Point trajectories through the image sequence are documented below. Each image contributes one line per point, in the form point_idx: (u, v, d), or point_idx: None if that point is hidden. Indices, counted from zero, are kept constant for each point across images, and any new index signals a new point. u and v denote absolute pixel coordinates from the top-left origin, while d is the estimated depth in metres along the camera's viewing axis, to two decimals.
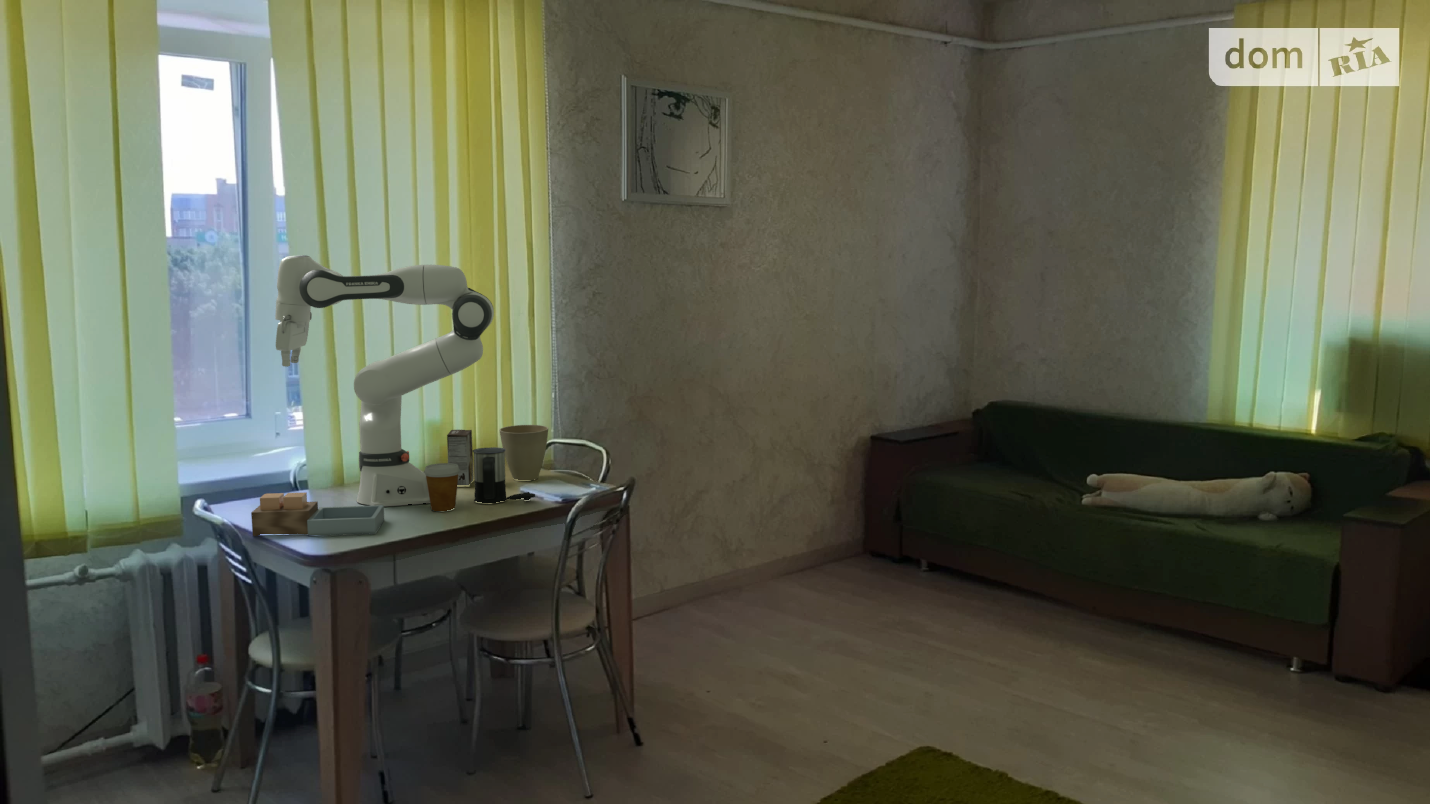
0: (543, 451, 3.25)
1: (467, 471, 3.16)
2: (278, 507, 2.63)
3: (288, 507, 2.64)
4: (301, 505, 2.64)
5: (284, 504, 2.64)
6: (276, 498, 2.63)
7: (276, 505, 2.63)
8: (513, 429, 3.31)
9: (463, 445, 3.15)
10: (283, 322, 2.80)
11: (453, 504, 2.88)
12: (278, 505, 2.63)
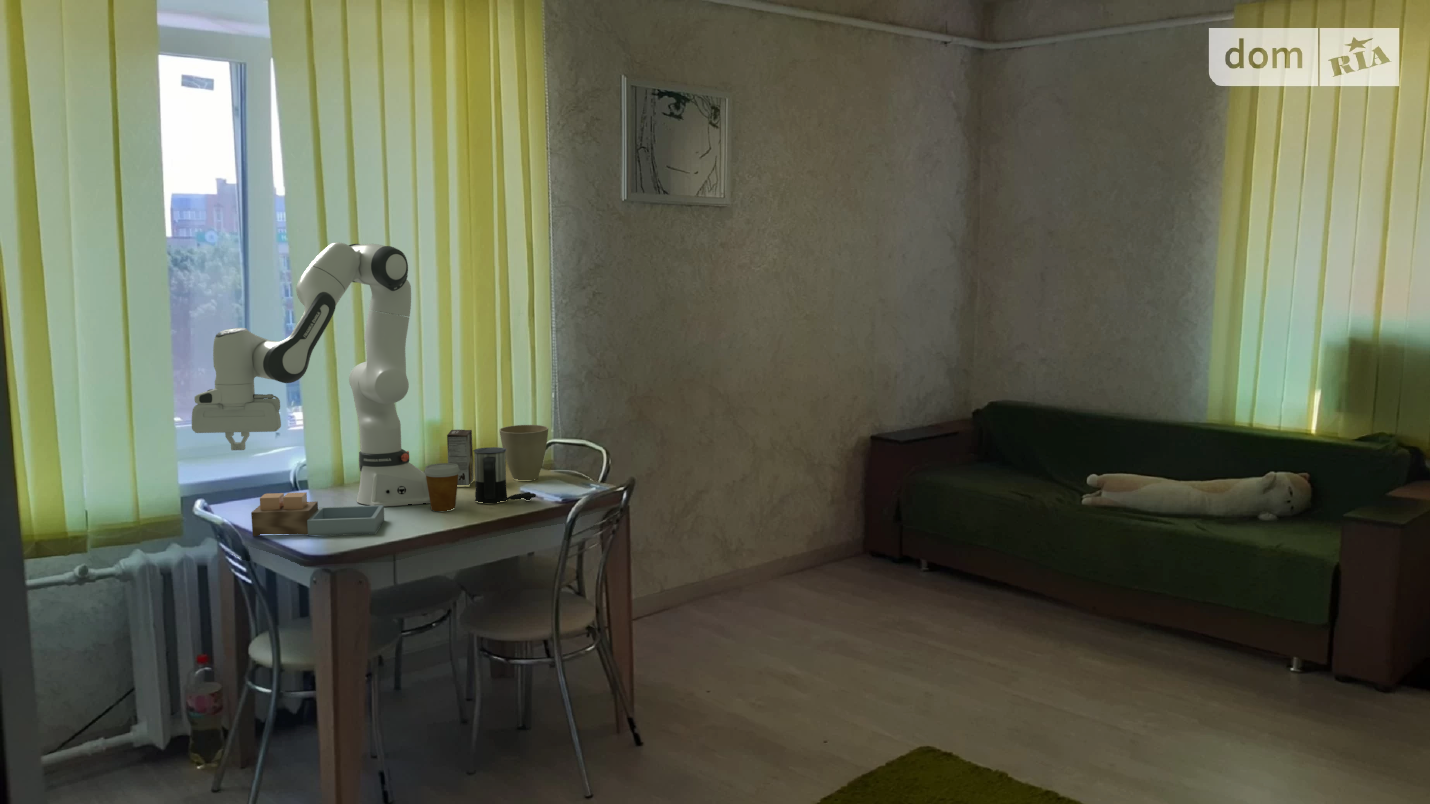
0: (543, 451, 3.25)
1: (467, 471, 3.16)
2: (278, 507, 2.63)
3: (288, 507, 2.64)
4: (301, 505, 2.64)
5: (284, 504, 2.64)
6: (276, 498, 2.63)
7: (276, 505, 2.63)
8: (513, 429, 3.31)
9: (463, 445, 3.15)
10: (279, 400, 2.62)
11: (453, 504, 2.88)
12: (278, 505, 2.63)
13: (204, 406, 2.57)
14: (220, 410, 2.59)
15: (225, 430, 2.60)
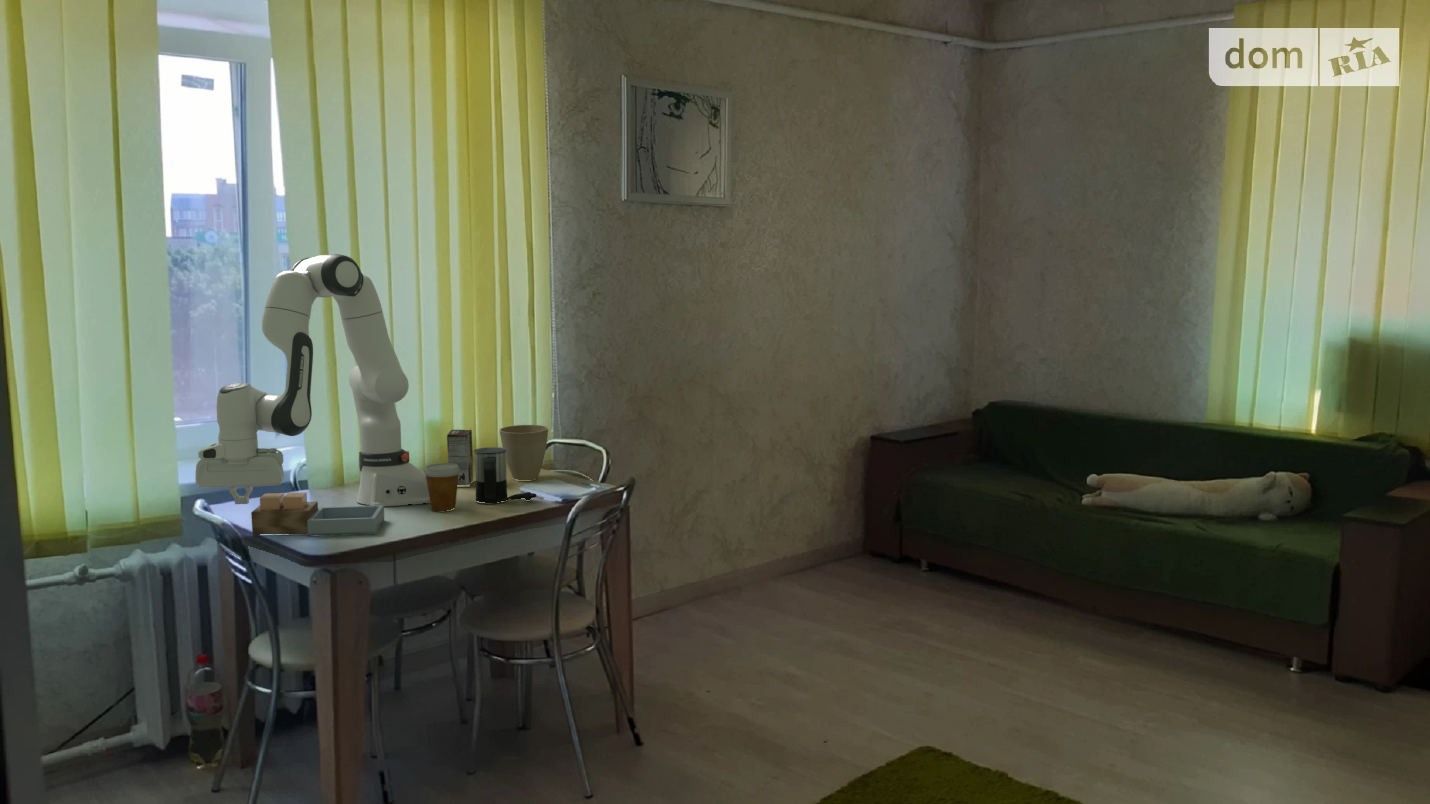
0: (543, 451, 3.25)
1: (467, 471, 3.16)
2: (278, 507, 2.63)
3: (288, 507, 2.64)
4: (301, 505, 2.64)
5: (284, 504, 2.64)
6: (276, 498, 2.63)
7: (276, 505, 2.63)
8: (513, 429, 3.31)
9: (463, 445, 3.15)
10: (282, 454, 2.64)
11: (453, 504, 2.88)
12: (278, 505, 2.63)
13: (208, 461, 2.59)
14: (223, 465, 2.61)
15: (229, 484, 2.62)
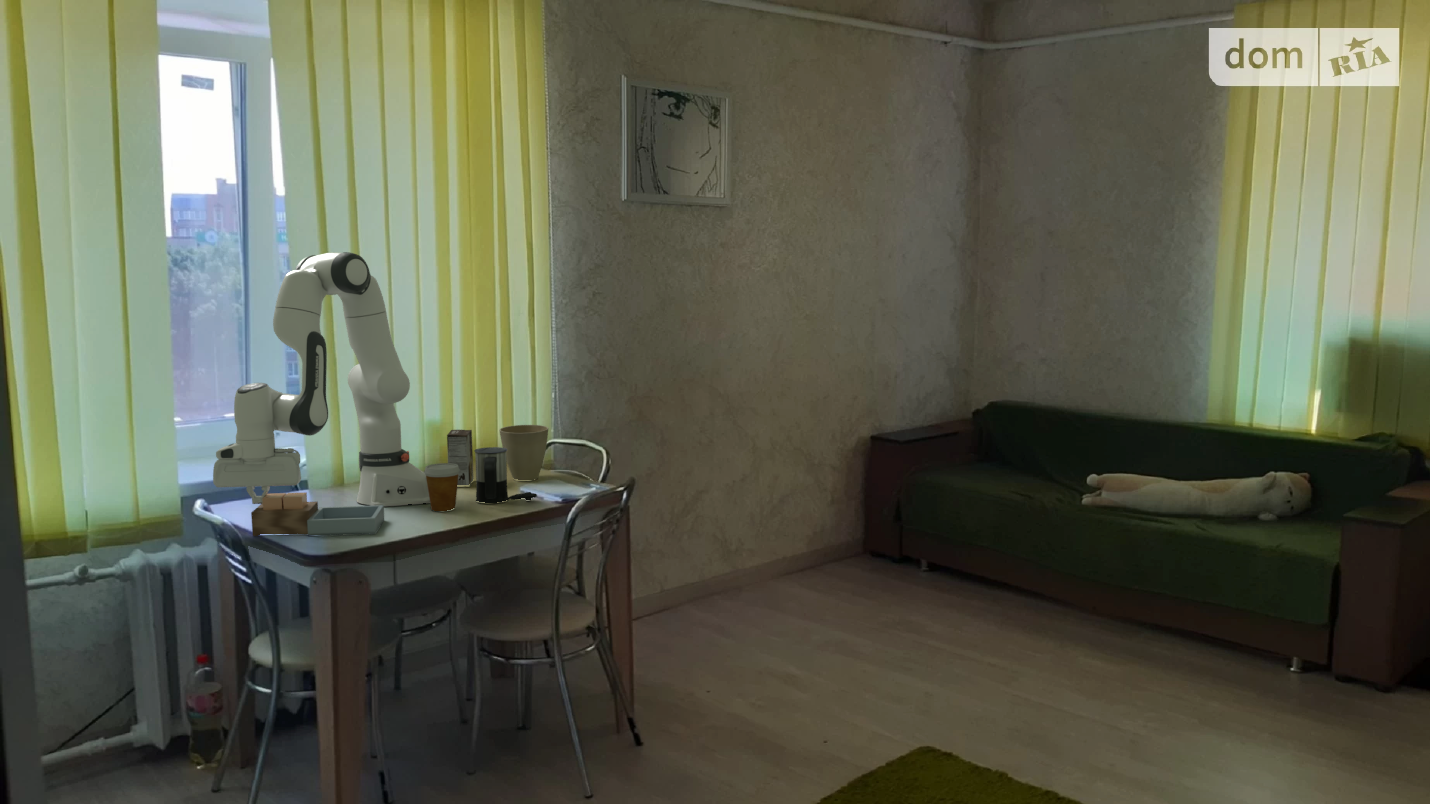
0: (543, 451, 3.25)
1: (467, 471, 3.16)
2: (281, 507, 2.64)
3: (288, 507, 2.64)
4: (301, 505, 2.64)
5: (284, 504, 2.64)
6: (279, 498, 2.63)
7: (278, 505, 2.63)
8: (513, 429, 3.31)
9: (463, 445, 3.15)
10: (299, 454, 2.65)
11: (453, 504, 2.88)
12: (281, 505, 2.63)
13: (225, 461, 2.60)
14: (241, 465, 2.62)
15: (246, 484, 2.62)
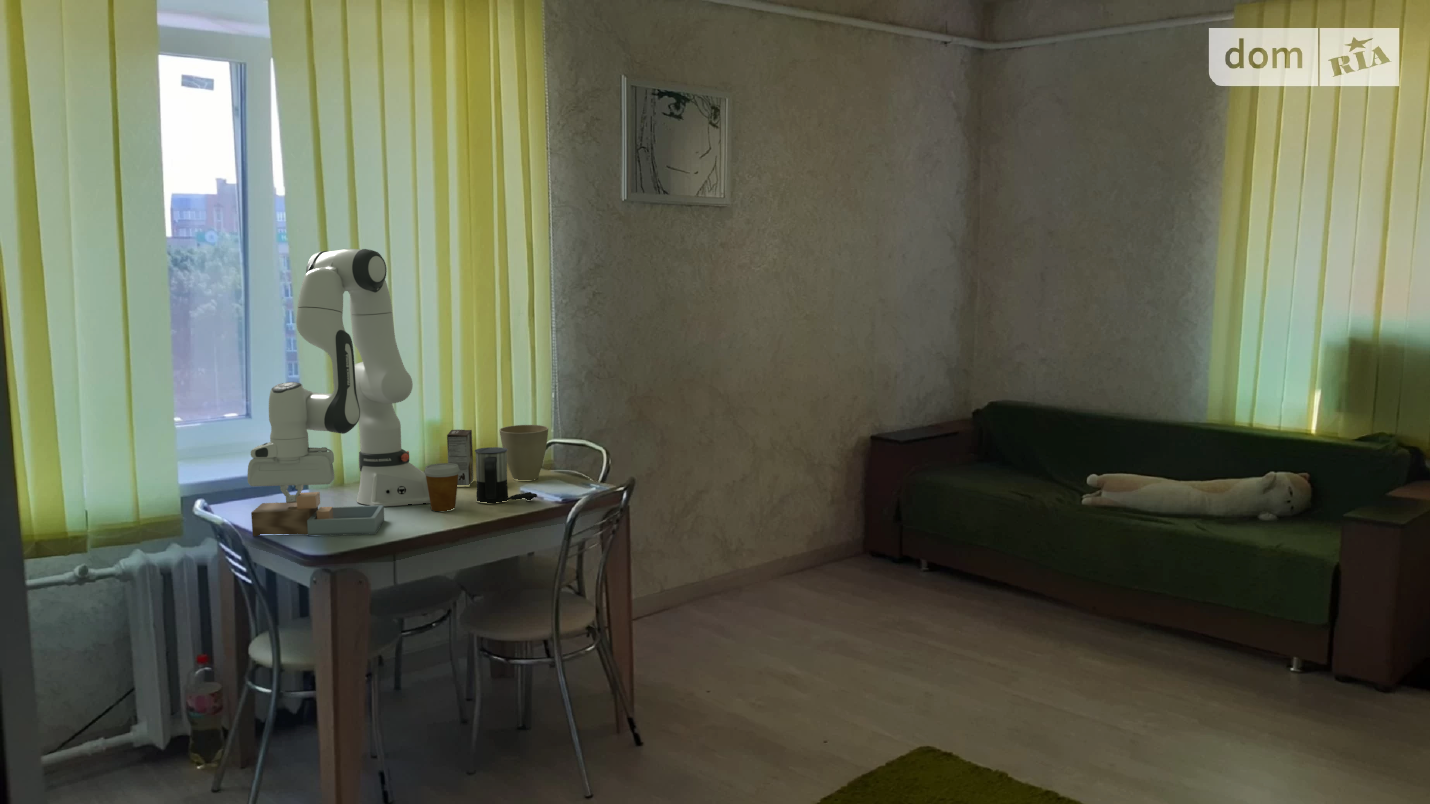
0: (543, 451, 3.25)
1: (467, 471, 3.16)
2: (315, 506, 2.65)
3: (318, 516, 2.65)
4: None
5: (321, 512, 2.65)
6: (313, 497, 2.64)
7: (312, 503, 2.65)
8: (513, 429, 3.31)
9: (463, 445, 3.15)
10: (332, 453, 2.66)
11: (453, 504, 2.88)
12: (315, 504, 2.65)
13: (260, 460, 2.61)
14: (275, 464, 2.63)
15: (280, 483, 2.63)
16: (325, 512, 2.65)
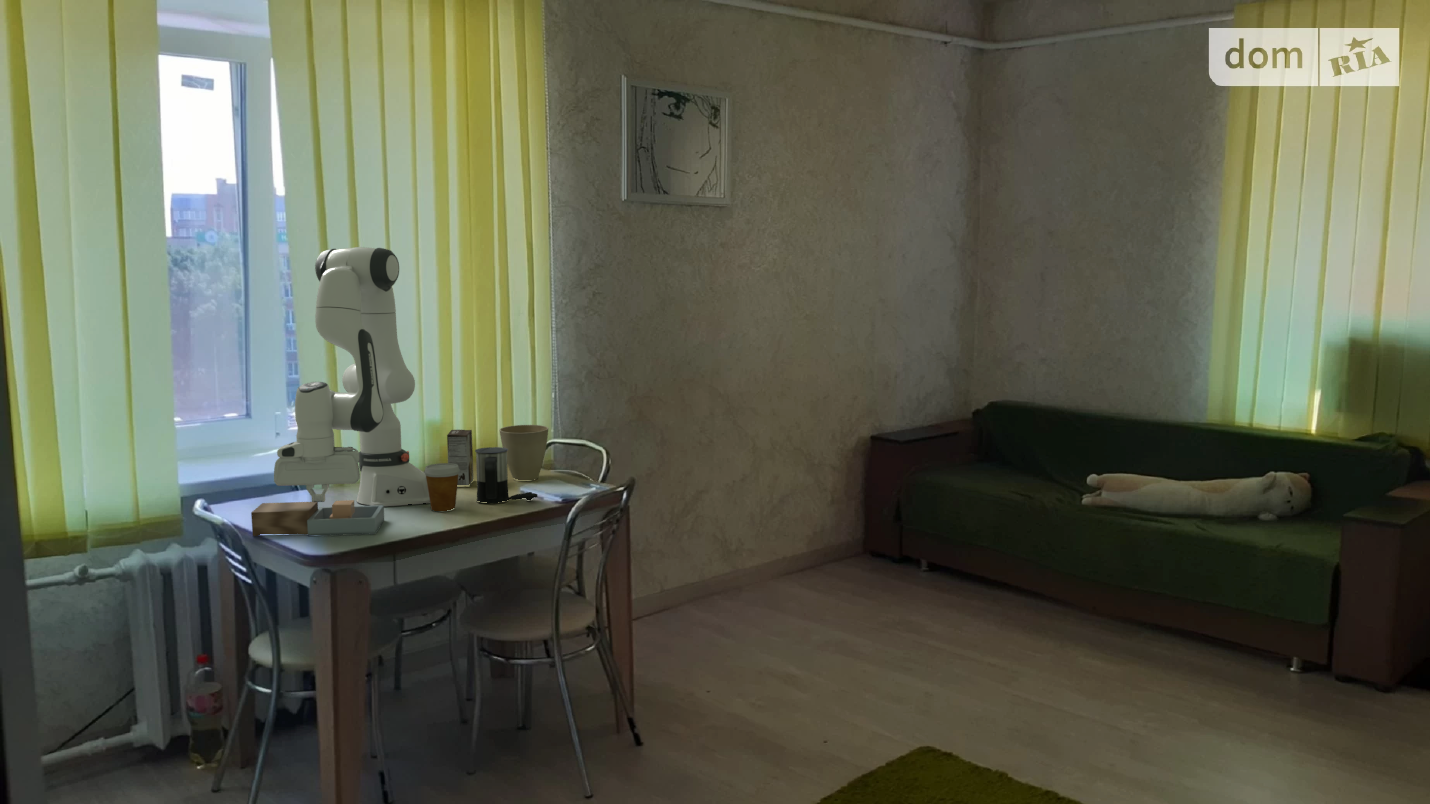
0: (543, 451, 3.25)
1: (467, 471, 3.16)
2: (350, 514, 2.66)
3: None
4: None
5: None
6: (348, 505, 2.66)
7: (348, 512, 2.66)
8: (513, 429, 3.31)
9: (463, 445, 3.15)
10: (358, 452, 2.67)
11: (453, 504, 2.88)
12: (350, 512, 2.66)
13: (286, 460, 2.62)
14: (301, 463, 2.64)
15: (306, 483, 2.64)
16: None
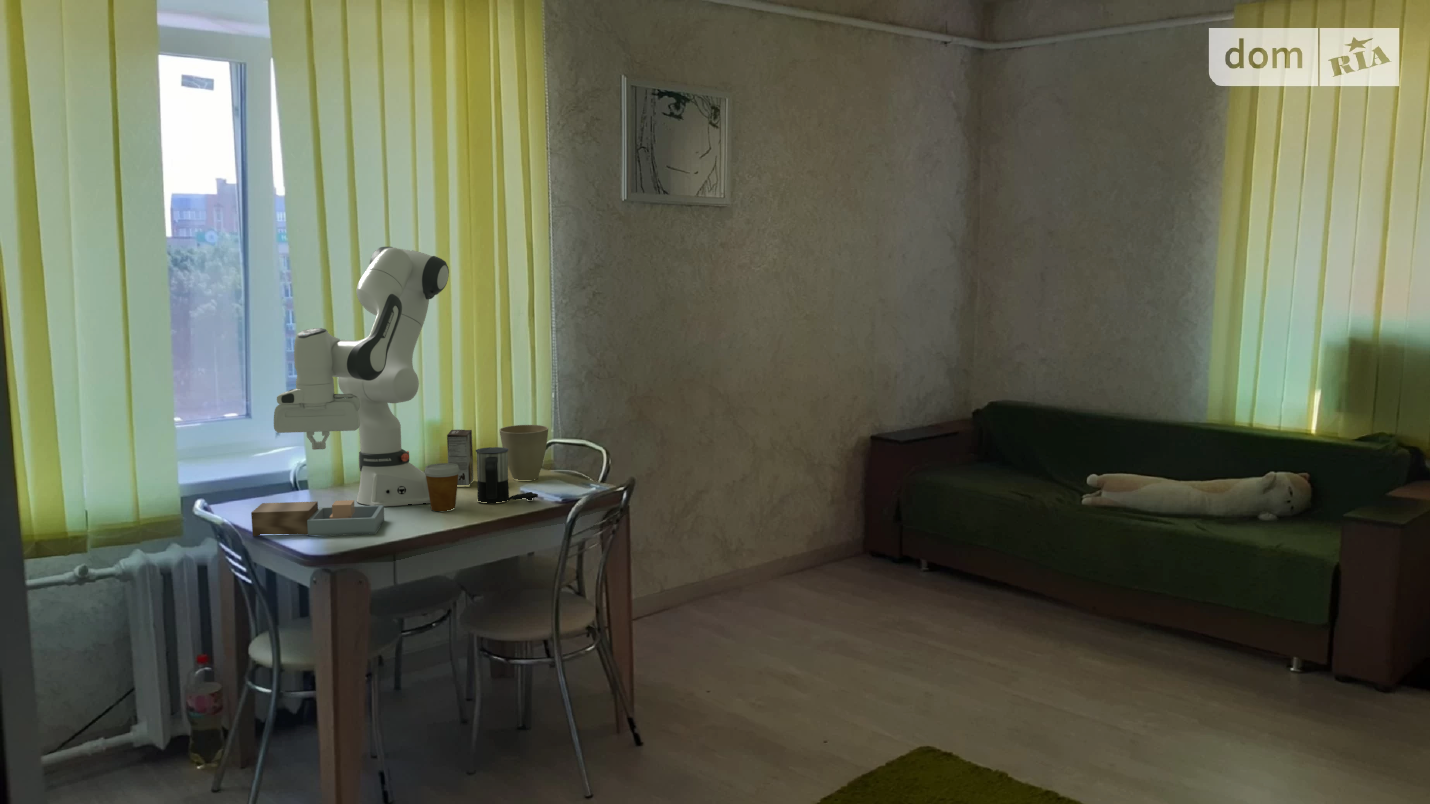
0: (543, 451, 3.25)
1: (467, 471, 3.16)
2: (350, 514, 2.66)
3: None
4: None
5: None
6: (348, 505, 2.66)
7: (348, 512, 2.66)
8: (513, 429, 3.31)
9: (463, 445, 3.15)
10: (358, 399, 2.65)
11: (453, 504, 2.88)
12: (350, 512, 2.66)
13: (286, 406, 2.60)
14: (301, 410, 2.62)
15: (306, 430, 2.63)
16: None
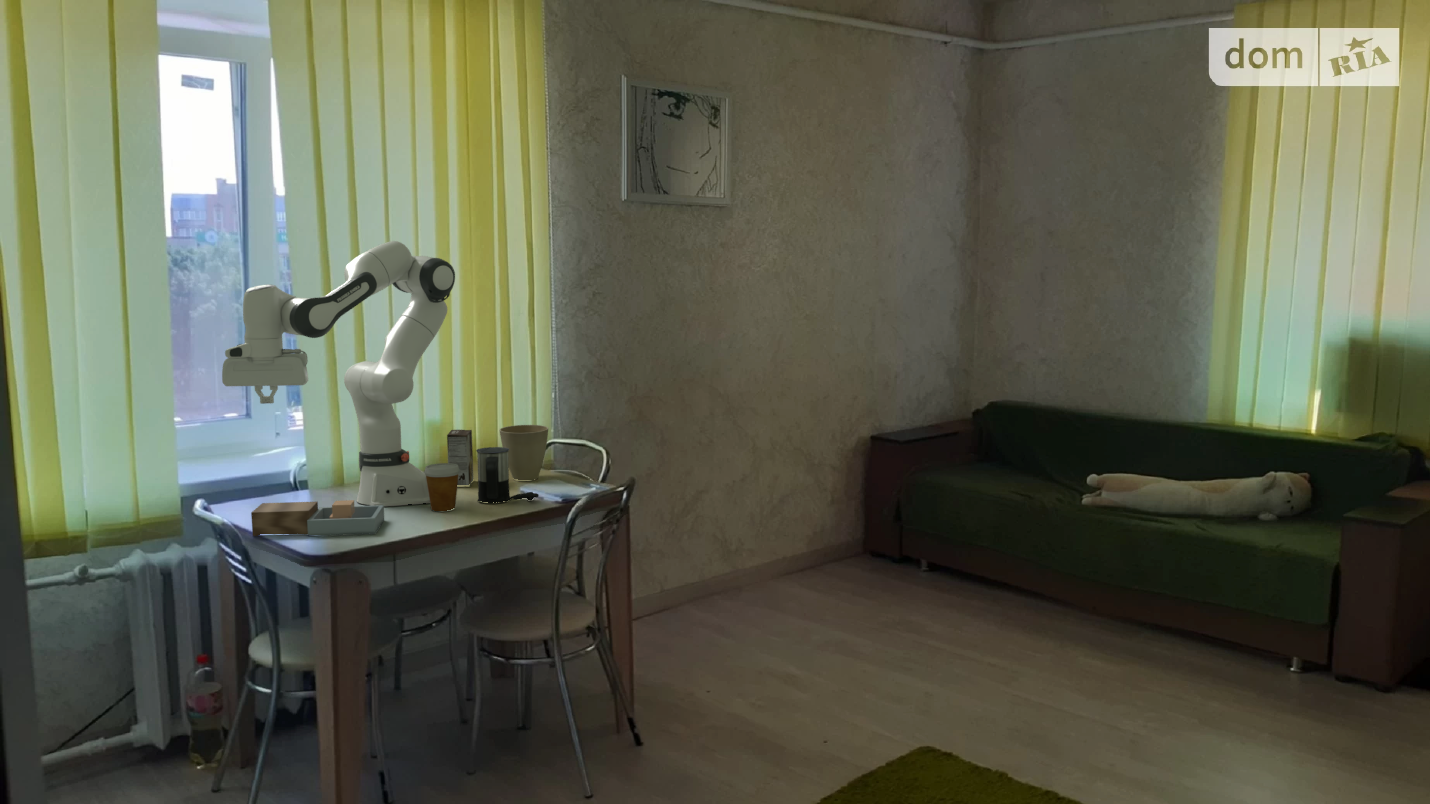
0: (543, 451, 3.25)
1: (467, 471, 3.16)
2: (350, 514, 2.66)
3: None
4: None
5: None
6: (348, 505, 2.66)
7: (348, 512, 2.66)
8: (513, 429, 3.31)
9: (463, 445, 3.15)
10: (306, 355, 2.71)
11: (453, 504, 2.88)
12: (350, 512, 2.66)
13: (234, 360, 2.66)
14: (249, 364, 2.67)
15: (254, 383, 2.68)
16: None
